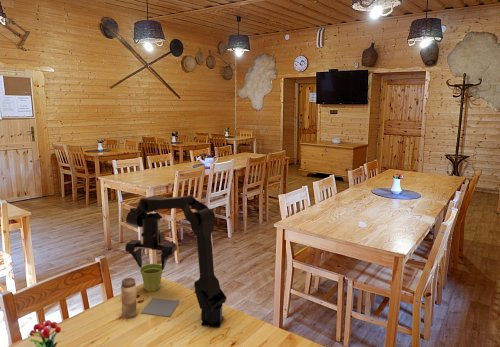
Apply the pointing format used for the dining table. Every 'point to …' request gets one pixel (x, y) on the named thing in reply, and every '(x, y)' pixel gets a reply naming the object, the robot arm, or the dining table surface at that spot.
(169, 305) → the slate coaster
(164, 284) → the dining table surface
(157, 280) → the plant pot
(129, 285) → the oak pepper mill
